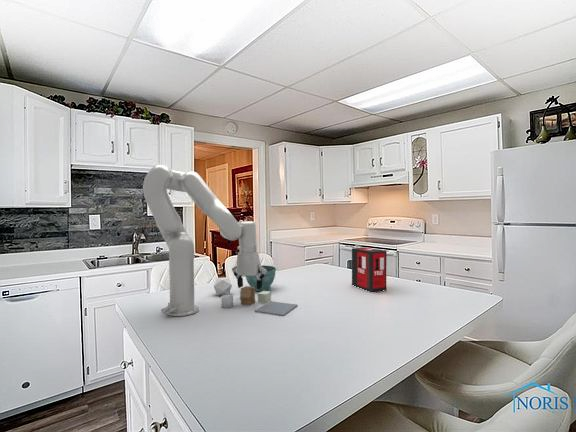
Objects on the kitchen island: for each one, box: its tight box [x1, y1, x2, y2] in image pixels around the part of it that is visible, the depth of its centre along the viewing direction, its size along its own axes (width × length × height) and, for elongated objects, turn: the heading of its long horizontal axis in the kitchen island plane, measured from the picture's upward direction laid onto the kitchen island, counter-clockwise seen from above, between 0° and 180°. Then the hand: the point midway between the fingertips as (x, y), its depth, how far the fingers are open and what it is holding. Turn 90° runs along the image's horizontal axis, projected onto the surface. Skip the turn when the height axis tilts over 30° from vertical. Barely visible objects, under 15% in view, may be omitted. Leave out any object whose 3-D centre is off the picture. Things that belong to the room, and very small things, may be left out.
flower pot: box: [245, 264, 277, 292], centre depth 168 cm, size 16×16×11 cm
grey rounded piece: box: [221, 294, 234, 309], centre depth 139 cm, size 5×5×4 cm
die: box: [213, 276, 233, 297], centre depth 158 cm, size 8×9×10 cm
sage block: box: [257, 290, 272, 304], centre depth 147 cm, size 5×4×4 cm
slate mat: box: [254, 300, 298, 317], centre depth 135 cm, size 14×13×1 cm
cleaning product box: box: [351, 246, 387, 293], centre depth 168 cm, size 16×9×20 cm, turn 25°
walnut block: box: [240, 285, 256, 307], centre depth 143 cm, size 4×4×7 cm
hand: (249, 287), depth 143 cm, fingers open, 9 cm apart
